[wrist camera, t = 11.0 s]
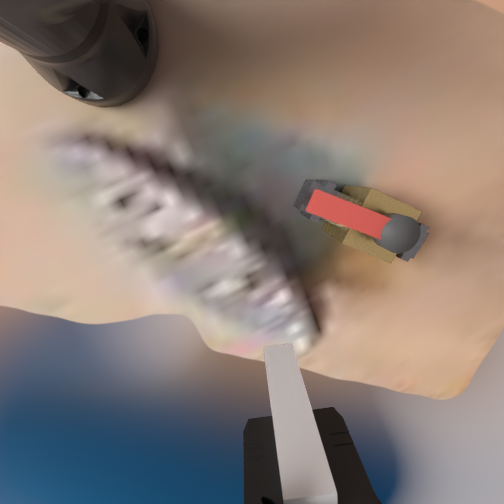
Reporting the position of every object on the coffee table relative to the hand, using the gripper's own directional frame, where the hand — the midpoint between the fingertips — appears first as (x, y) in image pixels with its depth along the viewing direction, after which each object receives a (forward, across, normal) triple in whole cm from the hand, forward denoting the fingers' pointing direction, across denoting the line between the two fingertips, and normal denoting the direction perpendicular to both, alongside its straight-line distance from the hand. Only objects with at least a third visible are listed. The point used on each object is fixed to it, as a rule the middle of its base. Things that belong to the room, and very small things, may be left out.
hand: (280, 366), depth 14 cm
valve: (+26, +15, +2) cm, 30 cm away
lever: (+17, +12, +4) cm, 21 cm away
